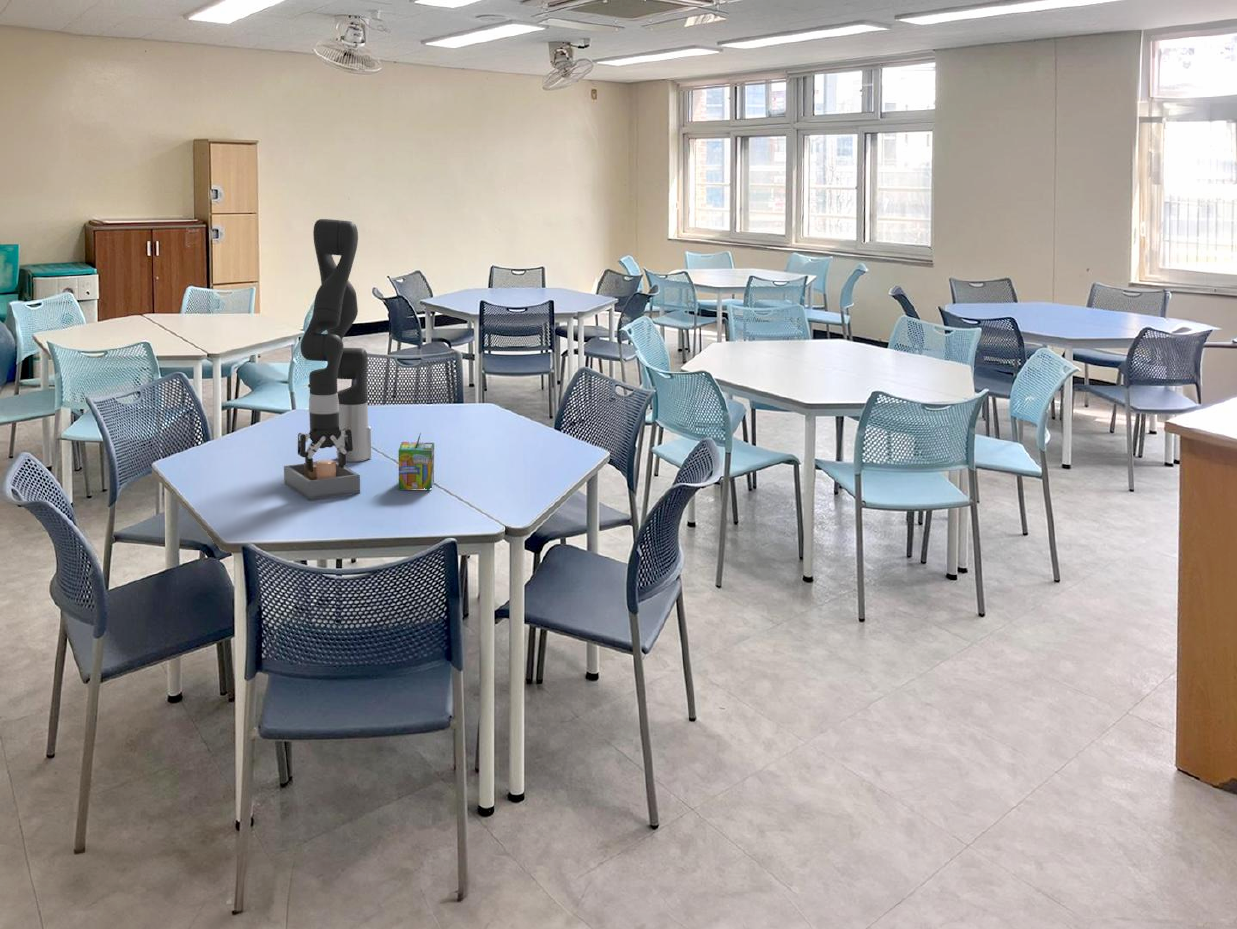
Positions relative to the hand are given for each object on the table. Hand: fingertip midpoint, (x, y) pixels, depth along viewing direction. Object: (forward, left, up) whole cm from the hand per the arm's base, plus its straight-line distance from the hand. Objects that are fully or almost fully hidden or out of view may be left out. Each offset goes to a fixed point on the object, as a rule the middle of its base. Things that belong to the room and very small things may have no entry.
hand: (326, 469), depth 283 cm
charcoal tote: (0, -3, -6) cm, 7 cm away
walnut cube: (0, -7, -5) cm, 8 cm away
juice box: (-23, +7, -6) cm, 25 cm away
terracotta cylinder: (0, 0, -5) cm, 5 cm away
